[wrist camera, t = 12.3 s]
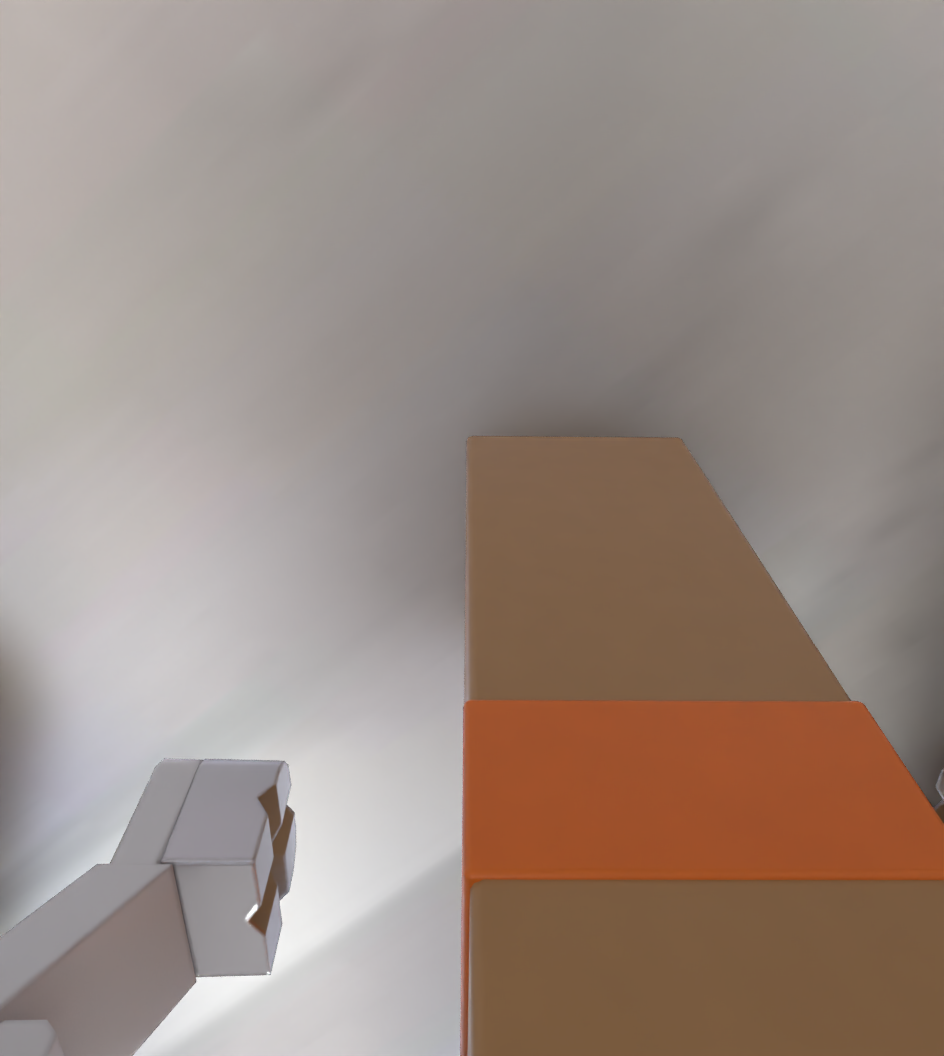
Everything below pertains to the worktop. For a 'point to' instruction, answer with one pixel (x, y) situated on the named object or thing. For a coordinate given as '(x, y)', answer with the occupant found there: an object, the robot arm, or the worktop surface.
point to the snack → (671, 785)
